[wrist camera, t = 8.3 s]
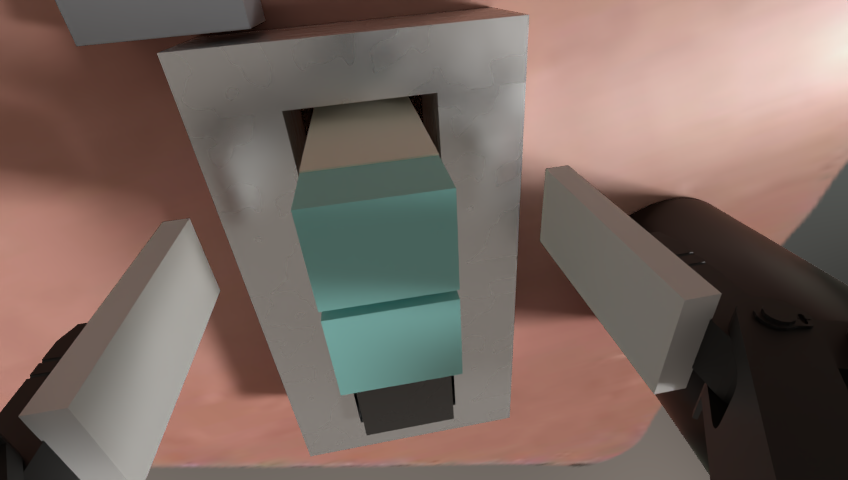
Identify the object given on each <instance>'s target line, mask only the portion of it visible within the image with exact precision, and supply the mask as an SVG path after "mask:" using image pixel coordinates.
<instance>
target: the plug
mask: <svg viewBox="0 0 848 480" xmlns="http://www.w3.org/2000/svg"><path fill="white" fill-rule="evenodd" d="M291 213H292V216H293V220H294V224H295V228H296V231H297V235H298V239H299V242H300V246H301V250H302V254H303V257H304V261H305V265H306V268H307V272H308V276H309V279H310V283H311V287H312V291H313V294H314V298H315V302H316V305H317V309H318V312H321V324H322V328H323V331H324V335H325V339H326V342H327V346H328V350H329V353H330V357H331V361H332V365H333V368H334V372H335V376H336V379H337V383H338V387H339V390H340V394H341V395H346V394H352V393H358V392H363V391H369V390H375V389H380V388H386V387H391V386H397V385H403V384H408V383H414V382H420V381H425V380H431V379H436V378H442V377H448V376H453V375H459V374H463V370H462V341H461V312H460V298H459V295H458V292H457V290H460V283H459V254H458V225H457V196H456V187H455V185H454V183H453V181H452V179H451V177H450V175H449V173H448V172H447V170H446V168H445V166H444V164H443V162H442V160H441V158H440V157H439V153H438V151H437V149H436V147H435V146H434V144H433V142H432V140H431V138H430V136H429V134H428V133H427V131H426V129H425V127H424V125H423V123H422V121H421V119H420V118H419V116H418V114H417V112H416V110H415V108H414V106H413V105H412V103H411V101H410V99H409V97H408V96H405V97H397V98H388V99H380V100H372V101H363V102H355V103H346V104H338V105H329V106H321V107H314V110H313V114H312V118H311V122H310V127H309V131H308V135H307V139H306V144H305V148H304V152H303V156H302V161H301V165H300V169H299V177H298V182H297V186H296V190H295V195H294V199H293V203H292V208H291Z"/></svg>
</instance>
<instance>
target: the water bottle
mask: <svg viewBox="0 0 848 480" xmlns="http://www.w3.org/2000/svg"><path fill="white" fill-rule="evenodd" d="M630 217H631V218H632V219H633V220H634V221H635V222H637V223H638V224H639V225H640V226H641V227H643V228H644V229H645V230H646V231H647V232H649V233H652V232H661V233H663V234H665V235H668V236H670V237H672V238H674V239H677V240H679V241H680V242H681V243H683V244H684V245H685V246H686V247H688V248H689V249H690V250H692V251H693V254H697V255H698V256H699V257H701V258H702V259H703V260H704V261H705V263H706V264H709V265H711V266H712V267H713V268H715V269H716V270H717V271H718V272H720V273H721V274H722V275H723V276H725V277H726V278H727V279H729V280H730V281H731V282H732V283H734V284H735V285H736V286H738V287H739V288H740V289H741V290H743V291H744V292H745V293H746V294H748V295H749V296H750V297H766V298H772V299H776V300H780V301H784V302H787V303H789V304H791V305H793V306H795V307H798V308H800V309H801V310H803V311H804V312H806V313H807V314H808V315H810V316H811V317H812V318H813V319H814V320H824V321H839V322H848V285H846V284H845V283H843V282H841V281H840V280H838V279H836V278H835V277H833V276H831V275H829V274H828V273H826V272H824V271H823V270H821V269H819V268H818V267H816V266H814V265H812V264H811V263H809V262H807V261H806V260H804V259H802V258H801V257H799V256H797V255H795V254H793V253H792V252H790V251H789V250H787V249H785V248H784V247H782V246H780V245H779V244H777V243H775V242H773V241H772V240H770V239H768V238H767V237H765V236H763V235H762V234H760V233H758V232H756V231H755V230H753V229H751V228H750V227H748V226H746V225H745V224H743V223H741V222H739V221H738V220H736V219H734V218H733V217H731V216H729V215H728V214H726V213H724V212H722V211H721V210H719V209H717V208H716V207H714V206H712V205H711V204H709V203H707V202H704V201H701V200H697V199H690V198H679V199H671V200H666V201H662V202H659V203H656V204H653V205H650V206H648V207H646V208H644V209H642V210H640V211H638V212H636V213H634V214H633V215H631V216H630ZM704 384H705V382H704V381H703V380H702V379H701V378H700V376H699V375H698V374H697V373H696V372H695V371H694V370H693V371H692V373H691V376H690V379H689V381H688V384H687V386H686V388H684V389H679V390H674V391H669V392H664V393H659V394H655V395H656V397H657V398H658V400H659V401H660V402H661V404H662V405H663V407H664V408H665V410H666V411H667V413H668V414H669V416H670V417H671V418H672V420H673V422H674V423H675V425H676V426H677V427H678V429H679V431H680V432H681V434H682V435H683V436H684V438H685V439H686V441H687V442H688V444H689V445H690V447H691V448H692V450H693V451H694V453H695V454H696V455H697V457H698V459H699V460H700V461H701V463H702V465H703V466H704V468H705V469H706V471H707V472H708V473H709V475H710V472H709V463H708V454H707V445H706V436H705V427H704V418H703V410H702V411H701V413H700V415H699V418H698V420H697V419H694V418H692V415H693V410H694V408H695V405H696V403H697V400H698V398H699V396H700V393H701V391H702V388H703V386H704Z"/></svg>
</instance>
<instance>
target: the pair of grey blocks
mask: <svg viewBox="0 0 848 480" xmlns="http://www.w3.org/2000/svg"><path fill="white" fill-rule="evenodd" d="M55 1H56V3H57V6H58V8H59V10H60V12H61V14H62V16H63V18H64V20H65V23H66V25H67V27H68V29H69V31H70V33H71V35H72V37H73V40H74V42H75V44H76V46H85V45H95V44H105V43H115V42H125V41H135V40H145V39H155V38H165V37H175V36H185V35H194V34H204V33H214V32H224V31H234V30H244V29H251V28H253V27H255V26H257V25H258V24H260V23H262V22H264V21H265V17H264V13H263V9H262V5H261V1H260V0H55Z"/></svg>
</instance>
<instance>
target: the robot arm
mask: <svg viewBox="0 0 848 480" xmlns="http://www.w3.org/2000/svg"><path fill="white" fill-rule="evenodd" d="M540 242H541V243H542V244H543V246H544V247H545V248H546V250H547V251H548V252H549V254H550V255H551V257H552V258H553V259H554V261H555V262H556V263H557V265H558V266H559V267H560V269H561V270H562V271H563V273H564V274H565V275H566V277H567V278H568V279H569V281H570V282H571V283H572V285H573V286H574V287H575V289H576V290H577V291H578V293H579V294H580V295H581V297H582V298H583V299H584V301H585V302H586V303H587V305H588V306H589V308H590V309H591V310H592V312H593V313H594V314H595V316H596V317H597V318H598V320H599V321H600V322H601V324H602V325H603V326H604V328H605V329H606V330H607V332H608V333H609V334H610V336H611V337H612V338H613V340H614V341H615V342H616V344H617V345H618V346H619V348H620V349H621V350H622V352H623V353H624V354H625V356H626V357H627V358H628V360H629V361H630V363H631V364H632V365H633V367H634V368H635V369H636V371H637V372H638V373H639V375H640V376H641V377H642V379H643V380H644V381H645V383H646V384H647V385H648V387H649V388H650V389H651V391H652V392H653V393H654V394H659V393H664V392H669V391H674V390H679V389H684V388H686V386H687V384H688V381H689V379H690V376H691V373H692V371H693V370H694V371H695V372H696V373H697V374H698V375H699V376H700V378H701V379H702V380H703V381H704V382H705V384H704V386H703V388H702V391H701V393H700V396H699V398H698V400H697V403H696V405H695V408H694V410H693V415H692V418H694V419H697V420H698V418H699V415H700V413H701V411H702V410H703V418H704V427H705V436H706V445H707V454H708V463H709V472H710V480H848V322H839V321H824V320H814V319H813V318H812V317H811V316H810V315H808V314H807V313H806V312H804V311H803V310H801V309H800V308H798V307H795V306H793V305H791V304H789V303H787V302H784V301H780V300H776V299H772V298H766V297H750V296H749V295H748V294H746V293H745V292H744V291H743V290H741V289H740V288H739V287H738V286H736V285H735V284H734V283H732V282H731V281H730V280H729V279H727V278H726V277H725V276H723V275H722V274H721V273H720V272H718V271H717V270H716V269H715V268H713V267H712V266H711V265H709V264H706V263H705V261H704V260H703V259H702V258H701V257H699V256H698V255H697V254H693V251H692V250H690V249H689V248H688V247H686V246H685V245H684V244H683V243H681V242H680V241H679V240H677V239H674V238H672V237H670V236H668V235H665V234H663V233H661V232H652V233H649V232H647V231H646V230H645V229H644V228H643V227H641V226H640V225H639V224H638V223H637V222H635V221H634V220H633V219H632V218H631V217H630V216H628V215H627V214H626V213H625V212H624V211H622V210H621V209H620V208H619V207H618V206H616V205H615V204H614V203H613V202H612V201H610V200H609V199H608V198H607V197H606V196H604V195H603V194H602V193H601V192H600V191H598V190H597V189H596V188H595V187H594V186H592V185H591V184H590V183H589V182H588V181H586V180H585V179H584V178H583V177H582V176H580V175H579V174H578V173H577V172H576V171H574V170H573V169H572V168H571V167H570V166H561V167H554V168H547V169H546V172H545V184H544V196H543V209H542V221H541V233H540ZM219 293H220V289H219V286H218V284H217V281H216V279H215V277H214V274H213V272H212V270H211V267H210V265H209V263H208V260H207V258H206V256H205V253H204V251H203V249H202V246H201V244H200V241H199V239H198V237H197V234H196V232H195V230H194V227H193V225H192V223H191V220H190V218H187V219H180V220H173V221H166V222H162V224H161V225H160V226H159V228H158V229H157V230H156V232H155V233H154V234H153V236H152V237H151V238H150V240H149V241H148V242H147V244H146V245H145V246H144V248H143V249H142V250H141V252H140V253H139V254H138V256H137V257H136V259H135V260H134V261H133V263H132V264H131V265H130V267H129V268H128V269H127V271H126V272H125V273H124V275H123V276H122V277H121V279H120V280H119V281H118V283H117V284H116V285H115V287H114V288H113V289H112V291H111V292H110V294H109V295H108V296H107V298H106V299H105V300H104V302H103V303H102V304H101V306H100V307H99V308H98V310H97V311H96V312H95V314H94V315H93V316H92V318H91V319H90V320H89V322H88V323H83V324H78V325H77V326H75V327H74V328H73V329H72V330H70V331H69V332H68V333H67V334H65V335H64V336H63V337H61V338H60V339H59V340H58V341H56V343H55V344H54V345H53V346H52V348H51V349H50V350H49V352H48V353H47V354H46V355H45V357H44V358H43V359H42V363H39V364H38V365H37V367H36V368H35V369H34V371H33V372H32V373H31V374H30V379H26V381H25V382H24V383H23V384H22V386H21V387H20V388H19V389H18V391H17V392H16V393H15V395H14V396H13V397H12V398H11V400H10V401H9V402H8V403H7V405H6V406H5V407H4V408H3V410H2V411H1V412H0V480H146V477H147V475H148V472H149V470H150V467H151V465H152V462H153V460H154V457H155V455H156V452H157V450H158V447H159V444H160V442H161V439H162V437H163V434H164V432H165V429H166V427H167V424H168V422H169V419H170V417H171V414H172V412H173V409H174V407H175V404H176V401H177V399H178V396H179V394H180V391H181V389H182V386H183V384H184V381H185V379H186V376H187V374H188V371H189V369H190V366H191V364H192V361H193V358H194V356H195V353H196V351H197V348H198V346H199V343H200V341H201V338H202V336H203V333H204V331H205V328H206V326H207V323H208V321H209V318H210V315H211V313H212V310H213V308H214V305H215V303H216V300H217V298H218V295H219Z"/></svg>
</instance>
